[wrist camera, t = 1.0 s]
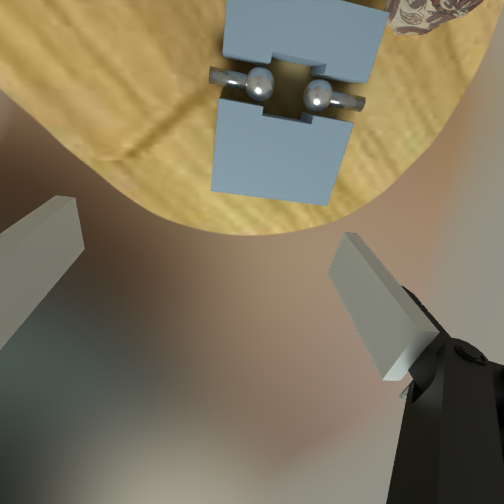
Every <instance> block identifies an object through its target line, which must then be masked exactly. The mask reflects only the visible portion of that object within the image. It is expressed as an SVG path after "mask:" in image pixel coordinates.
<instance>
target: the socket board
mask: <svg viewBox="0 0 504 504" xmlns="http://www.w3.org/2000/svg"><path fill="white" fill-rule="evenodd" d="M388 16H389V12H385V11H381V10H377V9H373V8H369V7H365V6H362V5H358V4H354V3H350V2H346V1H342V0H227V6H226V17H225V29H224V41H223V58H226V59H231V60H236V61H241V62H246V63H251V64H255V65H260V66H266V65H267V64H269V63H271V58H272V59H276V60H281V61H286V62H291V63H295V64H300V65H305V66H310V67H312V70H311V74H310V76H314V77H319V78H324V79H328V80H333V81H338V82H343V83H367V81H368V78H369V75H370V72H371V69H372V66H373V63H374V60H375V57H376V53H377V50H378V47H379V44H380V41H381V38H382V35H383V32H384V29H385V26H386V23H387V20H388ZM353 124H354V123H351V122H348V121H344V120H341V119H337V118H332V117H326V116H321V115H315V114H310V113H304V112H302V114H301V118H300V119H294V118H289V117H283V116H277V115H272V114H266V113H263V106H261V105H259V104H255V103H250V102H244V101H239V100H233V99H228V98H222V97H219V100H218V112H217V124H216V136H215V148H214V159H213V171H212V183H211V191H215V192H222V193H230V194H238V195H246V196H253V197H261V198H269V199H277V200H284V201H292V202H300V203H308V204H315V205H323V206H327V205H328V201H329V198H330V195H331V192H332V189H333V186H334V183H335V180H336V177H337V174H338V171H339V168H340V164H341V161H342V158H343V155H344V152H345V149H346V146H347V143H348V140H349V137H350V134H351V131H352V127H353Z"/></svg>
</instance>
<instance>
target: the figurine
mask: <svg viewBox="0 0 504 504" xmlns="http://www.w3.org/2000/svg"><path fill="white" fill-rule="evenodd" d="M481 2H483V0H385V12H389V16H388V20H387V23H386V24H387V25H388V26H389V27H390V28H391V29H392V31H393V33H394V34H395V35H406V36H408V35H423V34H426V33H428V32H430V31H432V30H434V29H435V28H437V27H438V26H440V25H441V24H443V23H445V22H448V21H450V20H452V19H454V18H457V17H464V16H466V15H467V14H468V12H470V11H471V10H473V9H474V8H475V7H476V6H478V5H479V4H480V3H481Z"/></svg>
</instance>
